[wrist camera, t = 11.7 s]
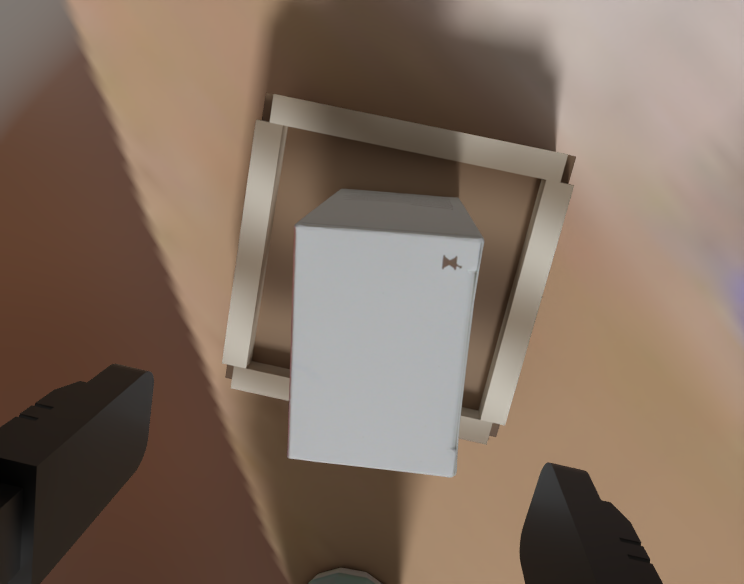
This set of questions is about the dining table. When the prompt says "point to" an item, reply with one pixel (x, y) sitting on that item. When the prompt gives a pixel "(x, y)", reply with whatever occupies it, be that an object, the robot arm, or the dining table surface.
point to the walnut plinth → (397, 175)
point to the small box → (381, 330)
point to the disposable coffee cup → (344, 577)
